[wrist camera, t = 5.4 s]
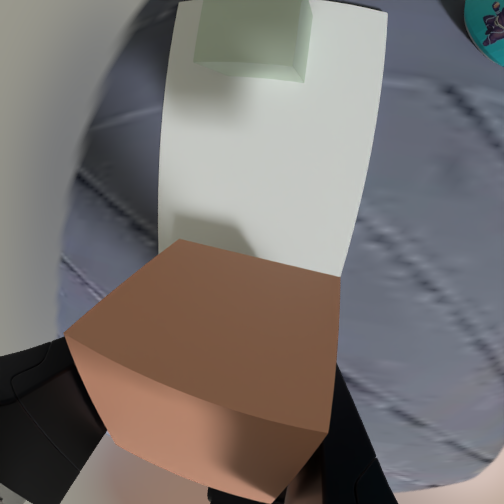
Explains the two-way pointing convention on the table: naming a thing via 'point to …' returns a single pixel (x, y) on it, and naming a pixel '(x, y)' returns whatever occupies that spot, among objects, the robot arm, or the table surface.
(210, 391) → the terracotta block
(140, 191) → the table surface
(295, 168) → the white mat
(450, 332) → the table surface
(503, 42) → the beverage can
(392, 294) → the table surface
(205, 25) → the sage block
